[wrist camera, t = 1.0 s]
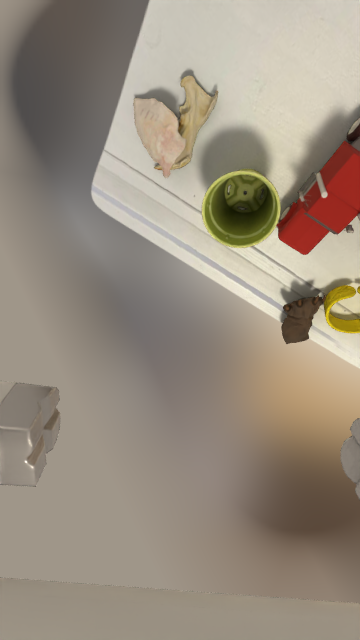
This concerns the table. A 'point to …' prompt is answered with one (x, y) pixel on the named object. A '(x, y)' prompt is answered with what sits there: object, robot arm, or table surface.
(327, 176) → the toy truck
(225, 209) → the plant pot
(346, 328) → the bracelet
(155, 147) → the artifact
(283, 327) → the figurine
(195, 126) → the bone
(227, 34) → the table surface
